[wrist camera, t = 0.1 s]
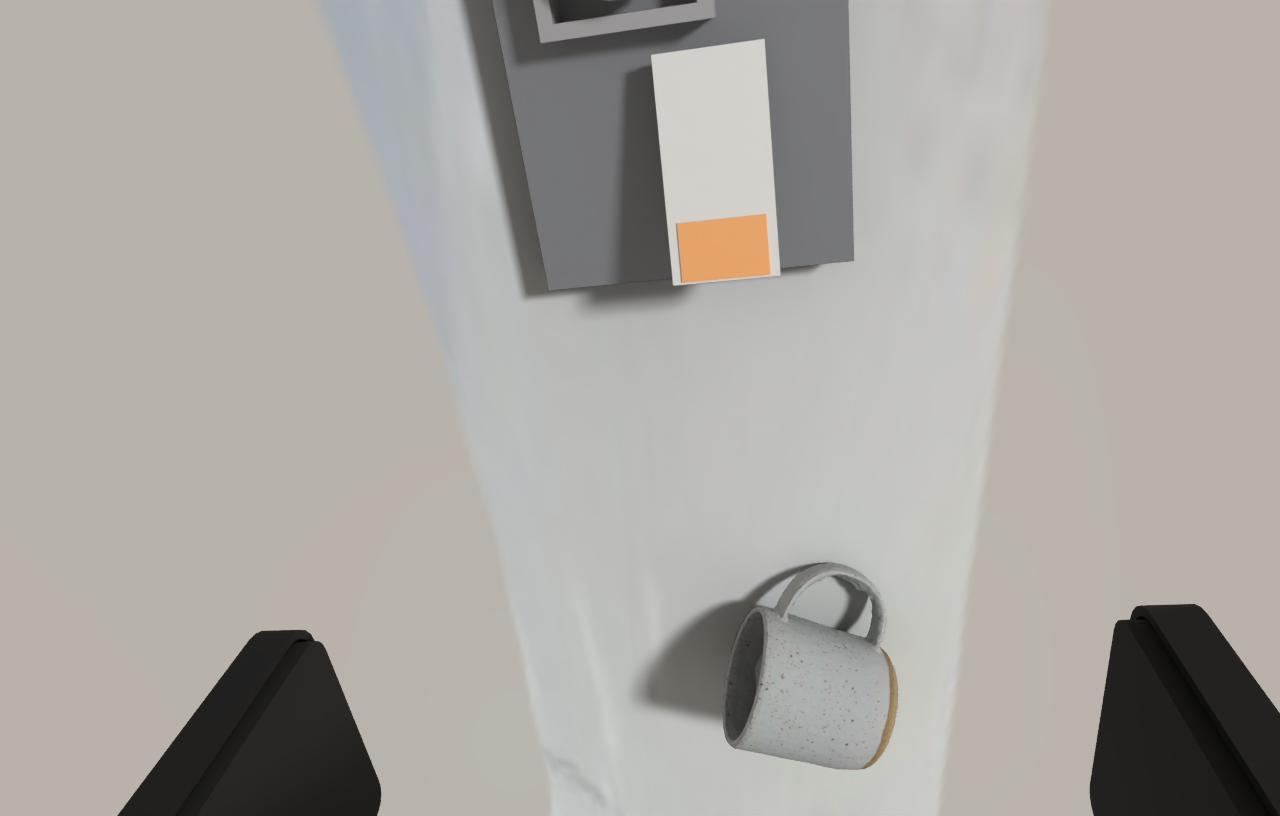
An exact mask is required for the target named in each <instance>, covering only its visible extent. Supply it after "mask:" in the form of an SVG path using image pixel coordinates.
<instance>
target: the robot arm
mask: <svg viewBox="0 0 1280 816" xmlns="http://www.w3.org/2000/svg"><path fill="white" fill-rule="evenodd" d="M1090 799H1091V806H1092V810H1093V814H1094V816H1280V713H1279V712H1278V710H1277V709H1276V708H1275V706H1274V705H1273V703H1272V702H1271V701H1270V699H1269V698H1268V697H1267V695H1266V694H1265V692H1264V691H1263V690H1262V688H1261V687H1260V685H1259V684H1258V683H1257V681H1256V680H1255V679H1254V677H1253V676H1252V675H1251V673H1250V672H1249V670H1248V669H1247V668H1246V666H1245V665H1244V663H1243V662H1242V661H1241V659H1240V658H1239V657H1238V655H1237V654H1236V653H1235V651H1234V650H1233V648H1232V647H1231V646H1230V644H1229V643H1228V641H1227V640H1226V639H1225V637H1224V636H1223V635H1222V633H1221V632H1220V630H1219V629H1218V628H1217V626H1216V625H1215V624H1214V622H1213V621H1212V619H1211V618H1210V617H1209V615H1208V614H1207V613H1206V612H1205V611H1204V610H1203V609H1202V608H1201V607H1200V606H1198V605H1195V604H1183V605H1182V604H1181V605H1147V606H1137V607H1135V609H1134V610H1133V612H1132V614H1131V618H1130V620H1119V621H1117V623H1116V624H1115V628H1114V633H1113V640H1112V646H1111V652H1110V659H1109V665H1108V671H1107V678H1106V684H1105V691H1104V697H1103V704H1102V710H1101V717H1100V723H1099V730H1098V736H1097V743H1096V749H1095V756H1094V763H1093V768H1092V775H1091V781H1090ZM380 802H381V787H380V783H379V780H378V777H377V775H376V773H375V770H374V768H373V765H372V763H371V760H370V758H369V755H368V753H367V750H366V748H365V745H364V743H363V740H362V738H361V735H360V733H359V731H358V728H357V725H356V723H355V721H354V719H353V716H352V713H351V711H350V708H349V706H348V703H347V701H346V699H345V696H344V693H343V691H342V688H341V686H340V684H339V681H338V678H337V676H336V674H335V671H334V669H333V666H332V664H331V661H330V659H329V656H328V654H327V651H326V649H325V647H324V646H323V644H322V643H320V642H319V641H314V639H313V637H312V635H311V634H310V633H308V632H307V631H306V630H281V631H261V632H259V633H256V634H255V635H254V636H253V637H252V638H251V639H250V640H249V641H248V642H247V644H246V645H245V646H244V648H243V649H242V651H241V652H240V653H239V655H238V656H237V657H236V658H235V660H234V661H233V662H232V664H231V665H230V666H229V668H228V669H227V670H226V672H225V673H224V675H223V676H222V677H221V678H220V680H219V681H218V683H217V684H216V685H215V686H214V688H213V689H212V691H211V692H210V693H209V694H208V696H207V697H206V698H205V700H204V701H203V703H202V704H201V705H200V707H199V708H198V709H197V710H196V712H195V713H194V715H193V716H192V717H191V718H190V720H189V721H188V722H187V724H186V725H185V726H184V728H183V729H182V730H181V732H180V733H179V734H178V736H177V737H176V738H175V740H174V741H173V742H172V744H171V745H170V747H169V748H168V749H167V751H166V752H165V753H164V754H163V756H162V757H161V759H160V760H159V761H158V762H157V764H156V765H155V767H154V768H153V769H152V770H151V772H150V773H149V775H148V776H147V777H146V778H145V780H144V781H143V782H142V784H141V785H140V786H139V788H138V789H137V791H136V792H135V793H134V794H133V796H132V797H131V798H130V800H129V801H128V802H127V804H126V805H125V807H124V808H123V809H122V810H121V812H120V813H119V815H118V816H377V813H378V811H379V807H380Z"/></svg>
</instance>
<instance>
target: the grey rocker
mask: <svg viewBox="0 0 1280 816" xmlns="http://www.w3.org/2000/svg"><path fill="white" fill-rule="evenodd" d="M651 61H652V71H653V81H654V92H655V102H656V113H657V123H658V133H659V144H660V154H661V164H662V175H663V185H664V196H665V206H666V216H667V227H668V237H669V247H670V258H671V268H672V279H673V286H676V285H686V284H697V283H707V282H718V281H728V280H739V279H749V278H760V277H770V276H781V275H780V260H779V245H778V231H777V216H776V201H775V186H774V172H773V157H772V142H771V127H770V112H769V98H768V83H767V68H766V53H765V39H759V40H752V41H745V42H738V43H731V44H724V45H717V46H710V47H703V48H696V49H689V50H682V51H675V52H668V53H661V54H654V55H651Z"/></svg>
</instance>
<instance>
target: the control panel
mask: <svg viewBox="0 0 1280 816" xmlns="http://www.w3.org/2000/svg"><path fill="white" fill-rule="evenodd" d="M492 3H493V8H494V13H495V18H496V23H497V28H498V34H499V39H500V44H501V49H502V54H503V59H504V64H505V69H506V74H507V79H508V85H509V90H510V95H511V100H512V105H513V110H514V115H515V120H516V125H517V130H518V136H519V141H520V146H521V151H522V156H523V161H524V166H525V171H526V176H527V182H528V187H529V192H530V197H531V202H532V207H533V212H534V217H535V222H536V227H537V233H538V238H539V243H540V248H541V253H542V258H543V263H544V268H545V273H546V278H547V284H548V289H549V290H558V289H569V288H579V287H589V286H600V285H610V284H620V283H631V282H641V281H651V280H662V279H672V268H671V258H670V247H669V237H668V227H667V216H666V206H665V196H664V185H663V175H662V164H661V154H660V144H659V133H658V123H657V113H656V102H655V92H654V81H653V71H652V61H651V55H654V54H661V53H668V52H675V51H682V50H689V49H696V48H703V47H710V46H717V45H724V44H731V43H738V42H745V41H752V40H759V39H765V53H766V68H767V83H768V98H769V112H770V127H771V142H772V157H773V172H774V186H775V201H776V216H777V231H778V245H779V260H780V268H786V267H796V266H807V265H817V264H827V263H838V262H848V261H854V239H853V194H852V148H851V103H850V57H849V12H848V0H492Z"/></svg>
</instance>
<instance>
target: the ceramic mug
mask: <svg viewBox="0 0 1280 816" xmlns="http://www.w3.org/2000/svg"><path fill="white" fill-rule="evenodd" d="M833 575H834V576H837V577H839V578H842V579H844V580H846V581H848V582H850V583H851V584H853V585H854V586H855V588H856V590H860V591H863V592H865V593H866V594H867V595H868V596H869V597H870V600H871V602H872V619H871V626H870V629H869V632H868V635H867V637H865V638H863V637H861V636H857V635H853V634H850V633H848V632H845V631H841V630H836V629H832V628H828V627H825V626H822V625H819V624H817V623H814V622H811V621H809V620H806V619H803V618H799V617H797V616H795V615H790V614H788V611H789V610H790V608H791V606H792V605H793V604H794V602H795V601H796V599H797V598H798V597H799V596H800V594H801V593H802V592H803V591H804V590H805V589H806V588H807V587H809V586H810V585H812V584H814V583H815V582H817V581H821V580H823V579H824V578H826V577H830V576H833ZM885 627H886V610H885V605H884V602H883V600H882V598H881V596H880V593H879V592H878V590H877V589H876V588H875V586H874V585H873V584H872V583H871V582H870V581H869V580H868V579H867V578H866V577H865V576H864V575H862V574H861V573H860V572H858V571H857V570H854V569H852V568H850V567H848V566H845V565H841V564H835V563H822V564H817V565H814V566H812V567H810V568H808V569H806V570H803V571H802V572H801V573H799V574H798V575H797V576H796V577H795V578H794V579H793V580H792V581H791V582H790V584H789V585H788V586H787V588H786V589H785V591H784V592H783V594H782V596H781V597H780V599H779V601H778V603H777V605H776V607H775V608H774V609H771V608H768V607H764V606H756V607H755V608H753V609H752V610H751V611H750V612H749V613H748V615H747V617H746V619H745V620H744V622H743V623H742V625H741V627H740V630H739V632H738V635H737V638H736V640H735V643H734V646H733V649H732V653H731V658H730V661H729V664H728V670H727V675H726V679H725V689H724V695H723V727H724V733H725V738H726V740H727V742H728V743H729V744H730V746H732V747H733V748H735V749H740V750H746V751H751V752H756V753H761V754H766V755H771V756H776V757H780V758H785V759H790V760H796V761H802V762H807V763H811V764H816V765H820V766H824V767H829V768H834V769H849V770H858V769H865V768H867V767H870V766H871V765H872V764H874V763H875V762H876V761H877V760H878V759H879V757H880V756H881V755H882V754H883V752H884V750H885V749H886V747H887V745H888V743H889V740H890V737H891V734H892V731H893V728H894V724H895V719H896V713H897V705H898V684H897V678H896V673H895V670H894V667H893V665H892V662H891V660H890V658H889V657H888V655H887V653H886V652H885V651H884V650H883V649H882V648H881V647H880V644H881V642H882V640H883V636H884V634H885Z"/></svg>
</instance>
